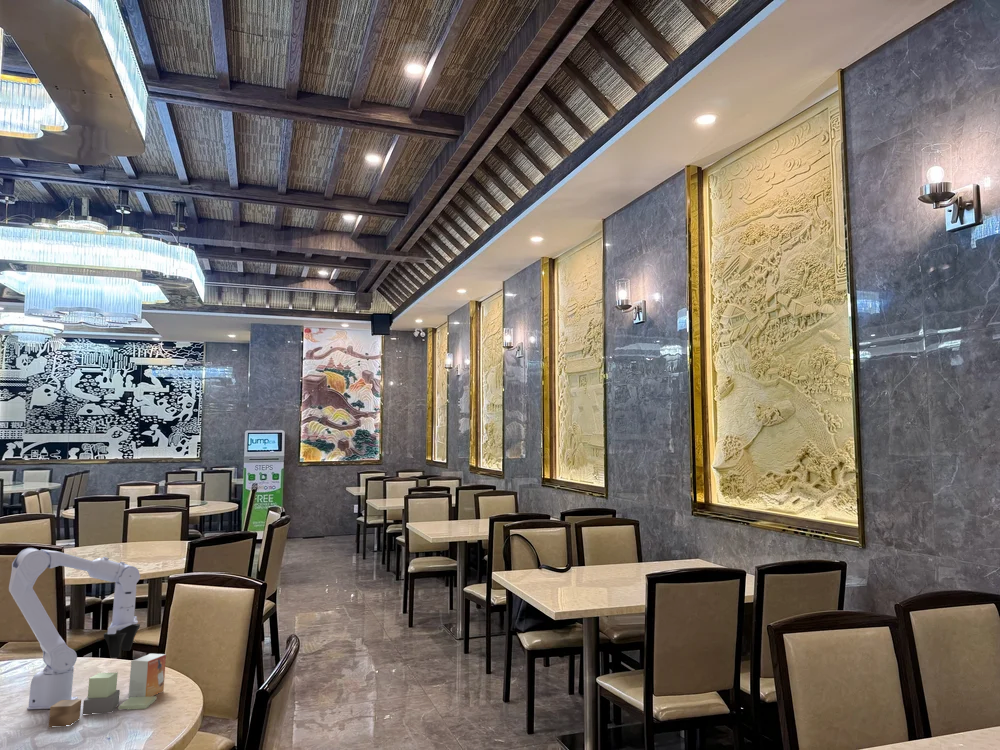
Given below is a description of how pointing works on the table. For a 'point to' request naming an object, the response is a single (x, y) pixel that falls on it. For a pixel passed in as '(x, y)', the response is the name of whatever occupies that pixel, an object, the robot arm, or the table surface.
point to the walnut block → (64, 712)
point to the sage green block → (102, 685)
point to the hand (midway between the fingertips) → (120, 653)
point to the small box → (147, 675)
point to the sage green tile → (137, 702)
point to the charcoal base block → (101, 704)
